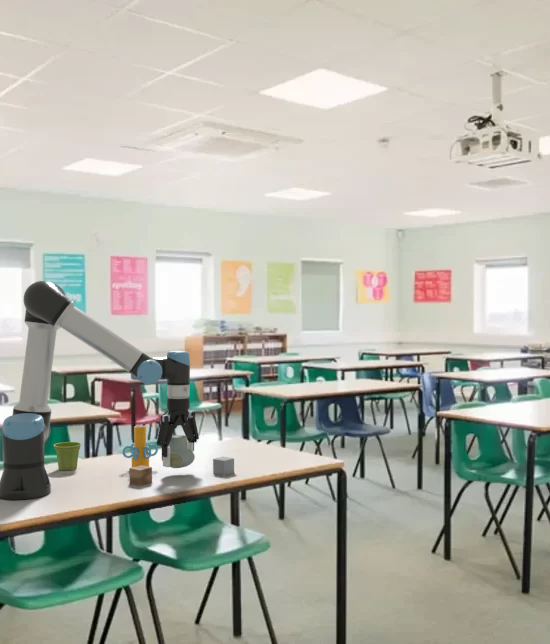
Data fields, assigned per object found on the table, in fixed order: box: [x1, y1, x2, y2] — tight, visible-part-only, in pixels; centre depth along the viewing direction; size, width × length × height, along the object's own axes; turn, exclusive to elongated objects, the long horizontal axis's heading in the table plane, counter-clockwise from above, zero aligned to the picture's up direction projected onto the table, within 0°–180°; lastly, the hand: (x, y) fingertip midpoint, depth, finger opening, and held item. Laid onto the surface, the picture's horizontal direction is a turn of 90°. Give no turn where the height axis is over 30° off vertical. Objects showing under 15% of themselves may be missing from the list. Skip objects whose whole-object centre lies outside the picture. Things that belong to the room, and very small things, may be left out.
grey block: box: [212, 456, 235, 476], centre depth 237 cm, size 5×5×5 cm
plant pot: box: [53, 441, 82, 471], centre depth 246 cm, size 9×9×9 cm
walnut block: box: [128, 465, 153, 487], centre depth 224 cm, size 5×5×5 cm
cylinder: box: [122, 425, 159, 468], centre depth 244 cm, size 12×10×15 cm
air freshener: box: [161, 434, 196, 469], centre depth 235 cm, size 11×8×10 cm
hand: (178, 464), depth 235 cm, fingers closed on air freshener, 10 cm apart
